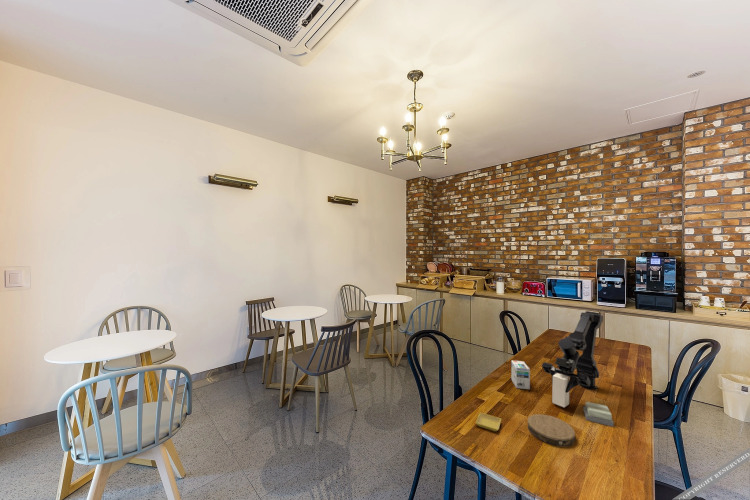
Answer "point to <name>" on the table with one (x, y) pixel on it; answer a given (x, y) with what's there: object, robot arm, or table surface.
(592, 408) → the tower top slab
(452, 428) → the table surface
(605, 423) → the tower base slab
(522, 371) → the light bulb box
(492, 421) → the yellow flat square tray
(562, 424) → the wood slice
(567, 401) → the cream pillar
